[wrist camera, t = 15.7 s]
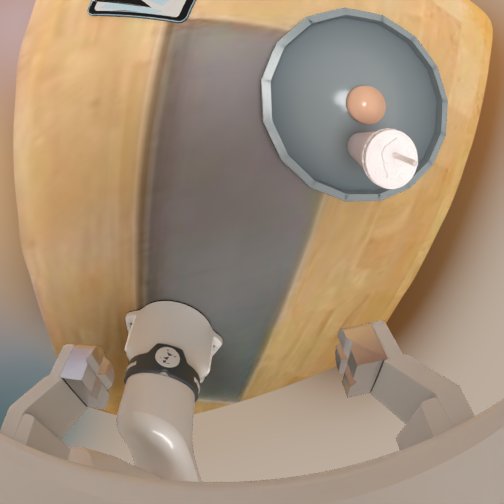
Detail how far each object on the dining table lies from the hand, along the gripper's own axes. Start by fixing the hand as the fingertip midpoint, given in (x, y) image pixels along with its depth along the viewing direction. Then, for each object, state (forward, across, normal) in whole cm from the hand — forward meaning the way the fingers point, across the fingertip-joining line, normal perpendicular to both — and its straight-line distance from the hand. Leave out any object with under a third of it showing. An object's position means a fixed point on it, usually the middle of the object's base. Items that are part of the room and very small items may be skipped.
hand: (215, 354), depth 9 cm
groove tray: (+30, -18, -7) cm, 35 cm away
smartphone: (+31, +9, -26) cm, 41 cm away
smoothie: (+29, -17, -1) cm, 34 cm away
